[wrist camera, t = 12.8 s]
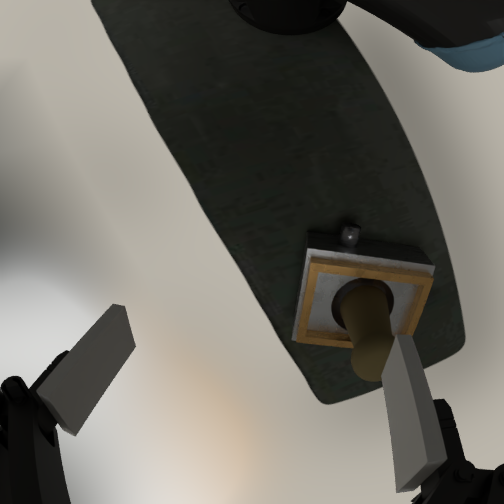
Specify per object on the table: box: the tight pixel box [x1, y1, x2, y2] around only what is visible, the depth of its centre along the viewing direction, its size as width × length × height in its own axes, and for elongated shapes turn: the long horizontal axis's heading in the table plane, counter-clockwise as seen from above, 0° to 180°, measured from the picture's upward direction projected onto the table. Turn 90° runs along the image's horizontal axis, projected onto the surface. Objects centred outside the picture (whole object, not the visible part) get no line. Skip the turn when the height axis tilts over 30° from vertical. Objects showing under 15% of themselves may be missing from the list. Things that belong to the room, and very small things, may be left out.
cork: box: [340, 285, 395, 382], centre depth 30 cm, size 6×6×11 cm
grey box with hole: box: [292, 222, 435, 348], centre depth 37 cm, size 15×16×8 cm
